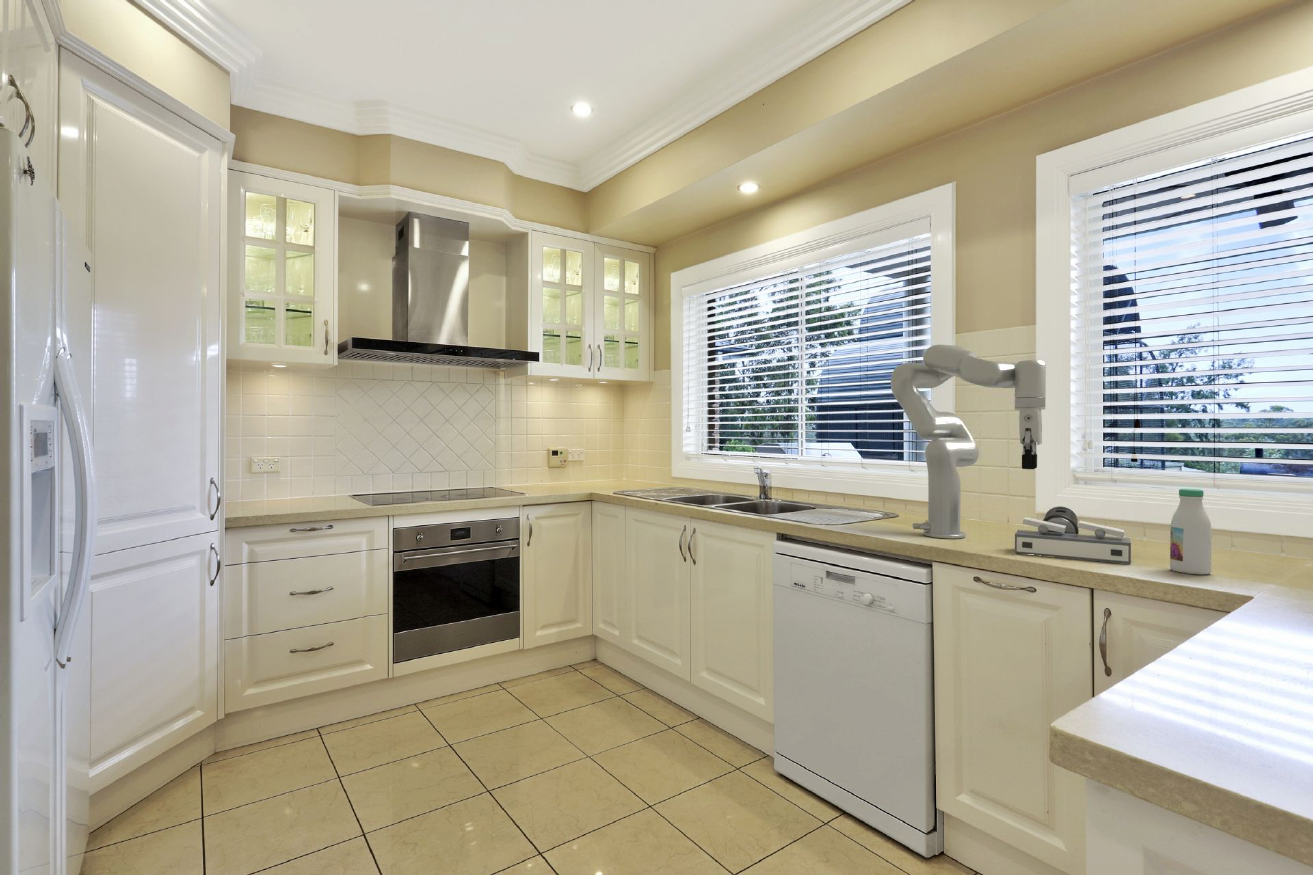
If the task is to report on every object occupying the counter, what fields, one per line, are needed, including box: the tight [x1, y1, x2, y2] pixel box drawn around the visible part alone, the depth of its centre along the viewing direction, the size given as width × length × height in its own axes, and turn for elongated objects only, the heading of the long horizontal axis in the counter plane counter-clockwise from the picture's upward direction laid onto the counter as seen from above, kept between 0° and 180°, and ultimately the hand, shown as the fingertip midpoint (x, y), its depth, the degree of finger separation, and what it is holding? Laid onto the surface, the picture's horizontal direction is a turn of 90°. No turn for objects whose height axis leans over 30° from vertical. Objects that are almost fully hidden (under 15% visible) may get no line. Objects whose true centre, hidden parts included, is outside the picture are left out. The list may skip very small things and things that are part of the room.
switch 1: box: [1022, 516, 1066, 533], centre depth 181 cm, size 10×5×3 cm, turn 56°
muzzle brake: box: [1042, 505, 1080, 534], centre depth 195 cm, size 10×28×10 cm, turn 147°
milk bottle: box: [1169, 488, 1212, 575], centre depth 158 cm, size 8×8×20 cm
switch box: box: [1014, 529, 1132, 565], centre depth 177 cm, size 26×9×6 cm, turn 56°
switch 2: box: [1078, 520, 1125, 538], centre depth 174 cm, size 10×5×3 cm, turn 56°
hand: (1029, 467), depth 183 cm, fingers open, 6 cm apart
